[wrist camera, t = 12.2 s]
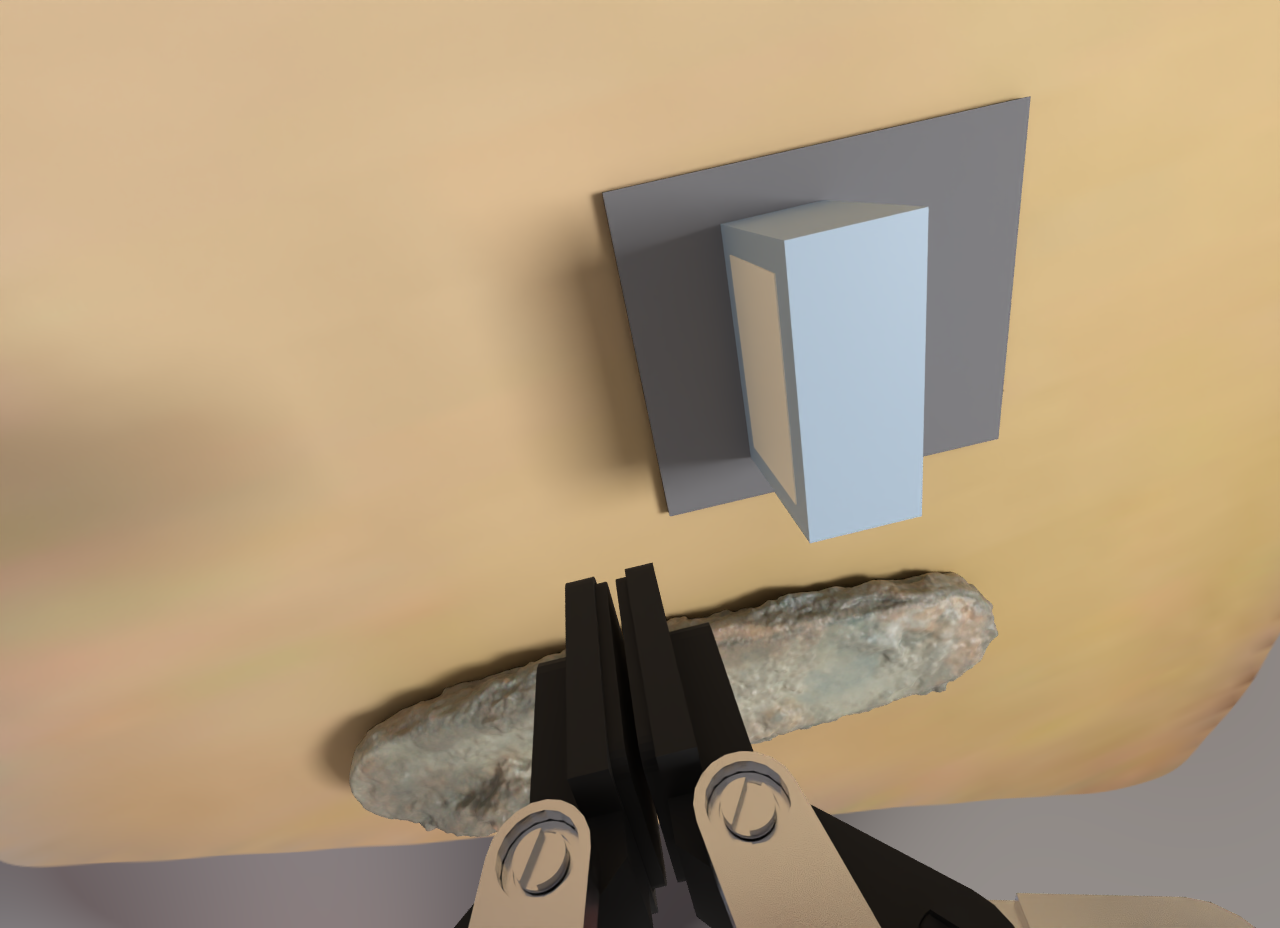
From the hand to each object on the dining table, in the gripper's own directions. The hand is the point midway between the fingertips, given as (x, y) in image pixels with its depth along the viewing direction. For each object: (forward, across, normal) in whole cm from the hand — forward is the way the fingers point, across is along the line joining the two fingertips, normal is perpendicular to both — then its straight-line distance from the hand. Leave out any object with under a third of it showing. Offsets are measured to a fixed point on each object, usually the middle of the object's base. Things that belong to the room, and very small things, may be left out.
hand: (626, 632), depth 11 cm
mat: (+15, -10, 0) cm, 18 cm away
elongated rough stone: (+15, 0, +18) cm, 23 cm away
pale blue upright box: (+14, -8, 0) cm, 17 cm away
